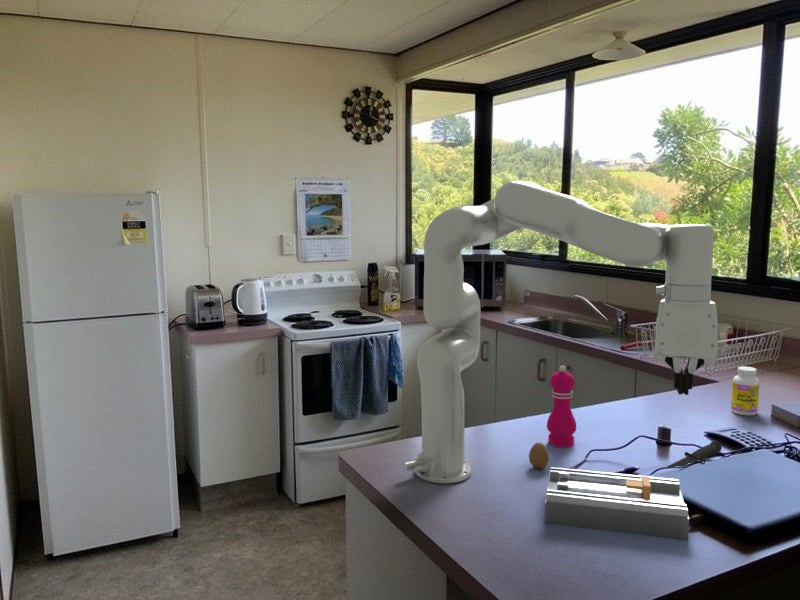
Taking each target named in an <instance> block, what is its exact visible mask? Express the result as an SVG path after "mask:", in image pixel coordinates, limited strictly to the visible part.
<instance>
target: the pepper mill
mask: <svg viewBox="0 0 800 600" xmlns="http://www.w3.org/2000/svg"><path fill="white" fill-rule="evenodd" d="M558 370H559V371H555V372H554V373H553V374H552V375H551V376H550V379H549V383H550V386H551V388H552V390H551V396H552V397H553V406H552V409H551V412H550V414H549V416H548V419H547V422H546V429H547V431H548V432H549V434H548V443H549V445H551V446H553V445H554V447H556V446H557V448H569V447H572V446H574V445H575V436H574V434H575V433H576V431H577V422H576V419H575V416H574V414H573V412H572V409H571V400H572V399H571V398H573V389H574V388H575V386H576V380H575V377H574V375H573V374H572V373H570V372H569V371H567V366H565V365H560V366H559V368H558Z"/></svg>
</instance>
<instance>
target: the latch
mask: <svg viewBox="0 0 800 600" xmlns="http://www.w3.org/2000/svg"><path fill="white" fill-rule="evenodd" d="M641 476H642V481H632V480H626V488H630V489H639V490H641V491H642V497H643V499H644V500H650V492H651V485H650V480H649V477H650V476H649V477H647V476H648V475H647V476H646V475H641Z"/></svg>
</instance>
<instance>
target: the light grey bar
mask: <svg viewBox="0 0 800 600" xmlns="http://www.w3.org/2000/svg"><path fill="white" fill-rule="evenodd" d="M561 482H562V483H568V491H574V492H584V493H593V494H603V495H612V496H622V497H631V498H641V499H642V491H641V490H639V489H630V488H626V487H623V486H613V485H603V484H594V483H584V482H574V481H566V480H564V479H562V480H561Z"/></svg>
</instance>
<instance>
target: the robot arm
mask: <svg viewBox="0 0 800 600" xmlns="http://www.w3.org/2000/svg"><path fill="white" fill-rule="evenodd" d="M522 228H523V229H526V230H530V231H533V232H535V233H538V234H541V235H544V236H548V237H551V238H554V239H556V240H559V241H561V242H565V243H566V244H568V245H571V246H573V247H577V248H579V249H581V250H584V251H585V252H588V253H591V254H593V255H596V256H598V257H601V258H604V259H607V260H610V261H613V262H616V263H619V264H622V265H624V266H629V267H634V268H643V267H647V266H649V265H651V264H653V263H659V262H665V279H664V280H665V282H664V284H663V285H660V286H656V295H661V296H663V297H664V298H663V299H661V300H660V301H659V302H660V303H659V304H658V305H659V306H658V309H657V316H656V322H655V331H654V350H653V352H652V358H653V360H655V361H658V362H661V363H665V364H667V365H668V366H669V367H670V368H671V369H672V371H673V389H676V391H677V394H678V395H686V396H689V390H693V380H694V379H693V377H694V374H695V373H696V371H697V370H698V369H700V368H701V367H702V366H703V365H708V364H709V365H710V364H714V363H717V361H718V358H717V357H718V356H717V354H718V347H719V345H718V343H719V341H718V340H719V339H718V337H719V334H718V331H719V330H718V327H719V325H718V324H719V323H718V311H717V305H716V302H715V301H712V300H711V294H712V277H713V275H712V273H713V261H714V260H713V259H714V258H713V257H714V243H715V241H714V240H715V235H714V234H715V233H714V232H715V231H714V229H713V227H712V226H711V225H708V224H703V223H702V224H701V223H699V224H697V223H684V224H683V223H681V224H673V225H672V224H670V225H669V224H662V223H654V222H642V223H641V222H640V223H638V222H634V221H632V220H627V219H624V218H621V217H618V216H615V215H612V214H608V213H606V212H603V211H600V210H599V209H596V208H593V207H592V206H591V205H589V204H588V203H587V202H586V201H584V200H582V199H580V198H577V197H574V196H571V195H568V194H564V193H560V192H557V191H554V190H550V189H547V188H544V187H542V186H540V185H539V184H537V183H535V182H532V181H526V180H512V181H511V180H510V181H508V182H506V183H504V184H502V185H501V186H500V187H499V188H498V189H497V191H496V192H495V195H494V198H492V199H490V200H488V201H486V202H484V203H482V204H480V205H459V206H455V207H452V208H449V209H447V210H445V211H443V212H441V213H440V214H438V215H437V216H435V217H434V218H433V220H432V221H431V222H430V224H429V225H428V227H427V229H426V232H425V234H424V239H423V240H424V241H423V256H424V257H423V258H424V260H423V261H424V266H423V267H424V269H423V272H424V273H423V316H424V319H425V321H426V323H427V325H429V327H431V328H433V329H436V330H441V333H438V334H436V335H434V336H432V337H430V338H428V339H427V340H426V341H424V342H423V343H422V345H421V346H420V348H419V349H418V353H417V358H416V362H417V363H416V365H417V371H418V376H419V382H420V395H421V396H420V397H421V398H420V400H421V405H420V406H421V448H422V450H421V452H418V453H417V457H416V458H415V459H414V460H409V461H405V462H403V463H402V469H403V471H404V472H409V471H412V470H413V472H414V474H416V476H417V477H418V478H420V479H422V480H424V481H426V482H429V483H434V484H455V483H460V482H462V481H465V480H467V479H468V478H469V477H471V475H472V466H471V464H470V463H469V462H468V461H466V460H465V459H466V458H465V457H466V456H465V391H464V390H465V389H464V386H463V382H462V376H461V372H462V371H463V370H465V369H466V368H469V367H470V366H471V365H472V364H473V363H475V361H476V360H477V358H478V357H479V352H480V344H481V343H480V341H481V308H482V307H481V300H480V297H479V294H478V293H477V291H476V289H475V288H474V287H473V286H472V285H470V284H469V283H468V282H464V275H465V274H464V272H465V267H464V260H463V256H462V251H463V250H464V249H466V248H468V247H476V246H483V245H487V244H489V243H492V242H495V241H497V240H499V239H501V238H503V237H505V236H508V235H509V234H511V233H513V232H516V231H518V230H520V229H522ZM681 358H682V359H683V358H685V359H687V361H686V365H685V367H684V369H683V368H682V366H681Z"/></svg>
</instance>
